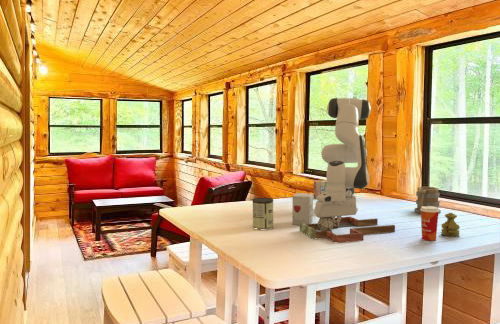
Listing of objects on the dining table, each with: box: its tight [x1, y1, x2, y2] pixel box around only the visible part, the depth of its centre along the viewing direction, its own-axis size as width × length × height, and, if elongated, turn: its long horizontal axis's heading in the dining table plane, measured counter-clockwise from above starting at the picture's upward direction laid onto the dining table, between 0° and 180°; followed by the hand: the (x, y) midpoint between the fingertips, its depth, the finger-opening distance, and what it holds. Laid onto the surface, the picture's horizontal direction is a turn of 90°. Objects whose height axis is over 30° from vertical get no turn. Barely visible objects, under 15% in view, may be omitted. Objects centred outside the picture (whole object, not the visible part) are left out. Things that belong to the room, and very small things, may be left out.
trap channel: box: [299, 216, 396, 243], centre depth 199 cm, size 32×42×4 cm
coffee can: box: [251, 197, 274, 230], centre depth 207 cm, size 10×10×14 cm
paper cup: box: [420, 206, 440, 242], centre depth 184 cm, size 8×8×14 cm
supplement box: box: [291, 192, 314, 226], centre depth 215 cm, size 9×9×15 cm
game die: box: [316, 217, 336, 233], centre depth 196 cm, size 9×8×10 cm
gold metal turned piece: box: [440, 212, 461, 238], centre depth 191 cm, size 7×7×10 cm
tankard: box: [414, 186, 441, 215], centre depth 238 cm, size 20×13×15 cm, turn 134°
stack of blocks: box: [313, 179, 327, 201], centre depth 288 cm, size 21×6×12 cm, turn 97°
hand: (335, 225), depth 197 cm, fingers closed
